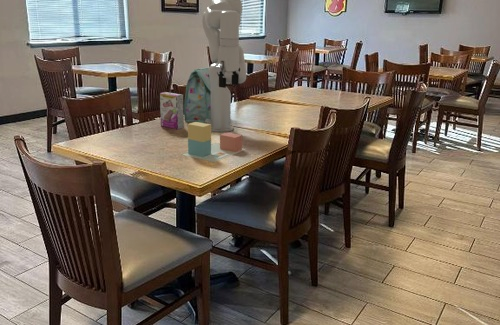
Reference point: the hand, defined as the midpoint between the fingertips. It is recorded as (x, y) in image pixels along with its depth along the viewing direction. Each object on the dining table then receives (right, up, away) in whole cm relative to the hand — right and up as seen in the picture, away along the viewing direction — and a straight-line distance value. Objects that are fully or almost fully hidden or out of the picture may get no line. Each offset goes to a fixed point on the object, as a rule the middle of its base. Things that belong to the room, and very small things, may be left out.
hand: (228, 85), depth 190 cm
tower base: (-11, -28, -8) cm, 32 cm away
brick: (+1, -26, -1) cm, 26 cm away
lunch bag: (-15, -9, +54) cm, 56 cm away
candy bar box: (-29, -15, +34) cm, 47 cm away
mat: (-5, -28, -5) cm, 29 cm away
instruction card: (-4, -29, -10) cm, 31 cm away
